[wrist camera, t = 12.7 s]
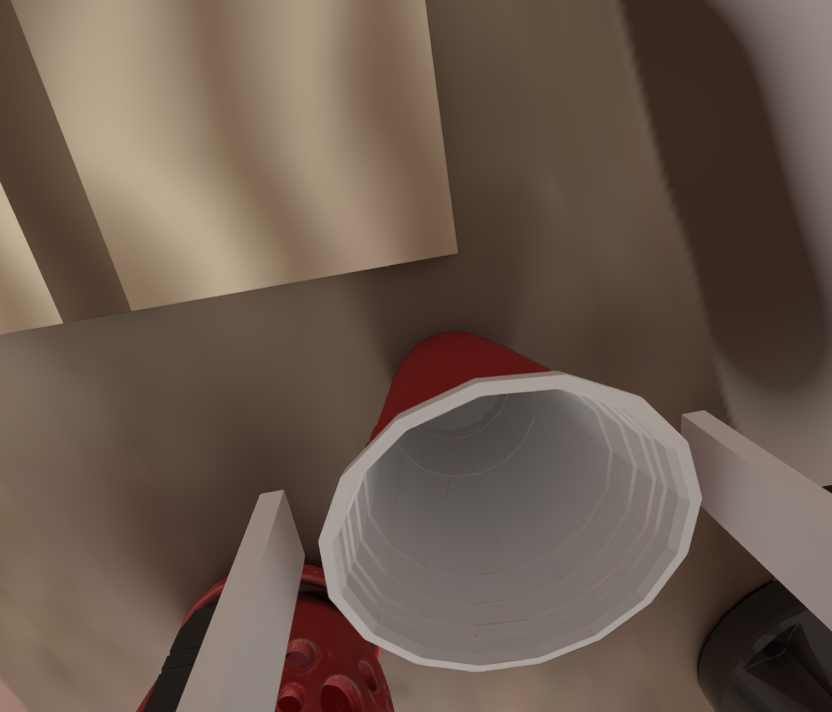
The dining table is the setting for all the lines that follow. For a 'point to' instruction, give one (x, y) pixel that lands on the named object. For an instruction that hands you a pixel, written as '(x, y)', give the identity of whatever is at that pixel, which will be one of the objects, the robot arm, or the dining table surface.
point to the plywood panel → (211, 149)
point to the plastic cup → (505, 510)
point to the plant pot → (321, 655)
